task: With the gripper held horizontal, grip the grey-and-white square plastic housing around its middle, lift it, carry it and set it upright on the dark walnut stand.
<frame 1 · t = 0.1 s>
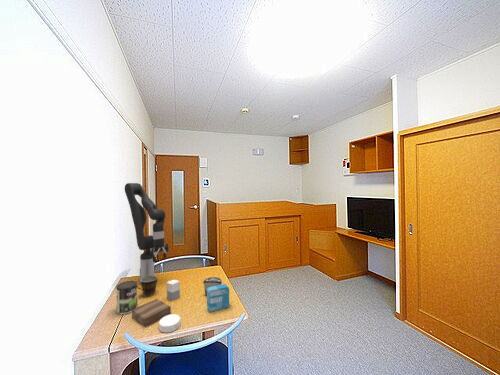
hand: (159, 260, 154), 17 cm above the table, tool pointing down, fingers open, 8 cm apart
ceramic cup: (147, 295, 139), on the table
food container: (213, 294, 140), on the table
housing: (173, 297, 135), on the table
walnut stand: (151, 315, 117), on the table
coaster: (170, 326, 108), on the table
data package: (218, 308, 123), on the table
coffee can: (127, 309, 123), on the table
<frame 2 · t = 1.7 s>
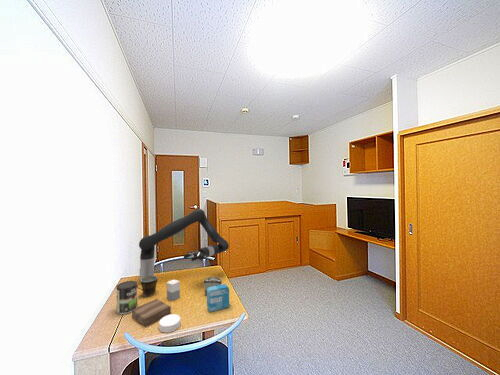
hand: (187, 258, 144), 22 cm above the table, tool horizontal, fingers open, 8 cm apart
nothing on the table moved.
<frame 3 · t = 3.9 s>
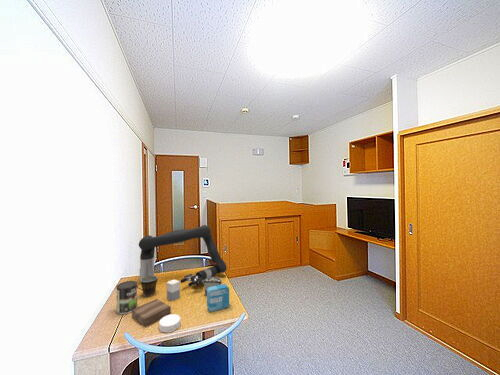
hand: (184, 283, 142), 6 cm above the table, tool horizontal, fingers open, 8 cm apart
nothing on the table moved.
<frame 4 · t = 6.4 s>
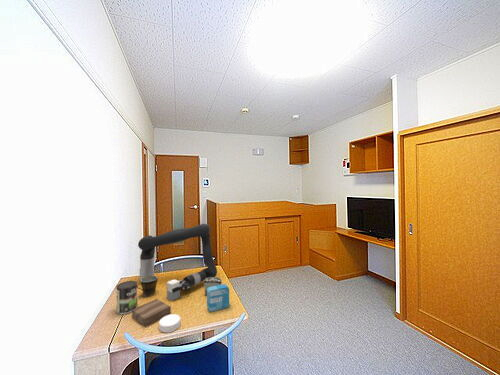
hand: (169, 289, 133), 6 cm above the table, tool horizontal, fingers closed on housing, 5 cm apart
housing: (173, 297, 135), on the table, touching gripper
everything else where it was.
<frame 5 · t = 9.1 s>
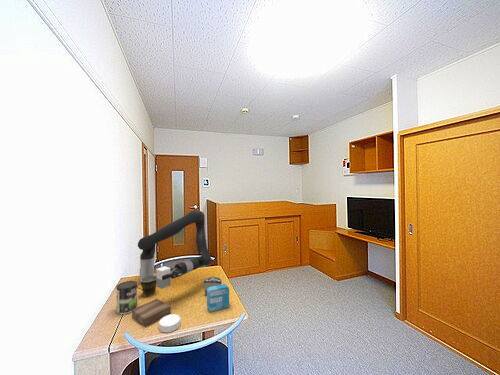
hand: (159, 276, 124), 18 cm above the table, tool horizontal, fingers closed on housing, 5 cm apart
housing: (163, 285, 126), point 12 cm above the table, touching gripper
everything else where it was.
when the fingers open (11 cm above the table, at t = 11.9 s): housing drops 1 cm, resting on walnut stand.
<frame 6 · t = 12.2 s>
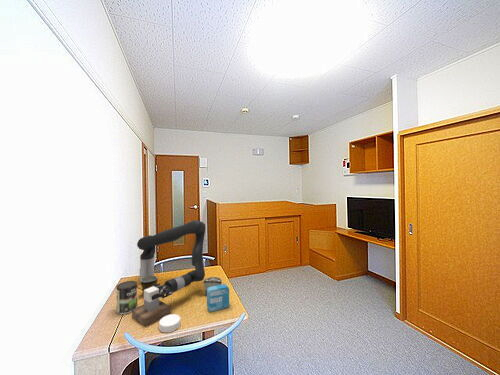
hand: (147, 295, 115), 11 cm above the table, tool horizontal, fingers open, 8 cm apart
housing: (151, 307, 117), point 4 cm above the table, touching walnut stand
everything else where it was.
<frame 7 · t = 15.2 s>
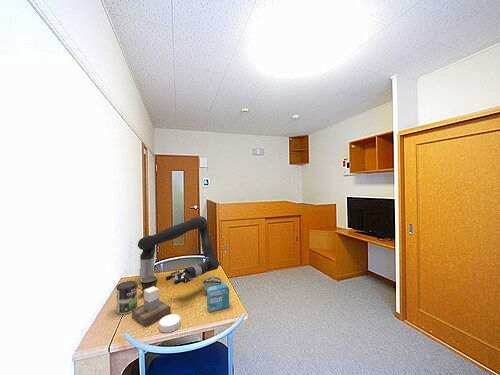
hand: (170, 280, 126), 15 cm above the table, tool horizontal, fingers open, 8 cm apart
nothing on the table moved.
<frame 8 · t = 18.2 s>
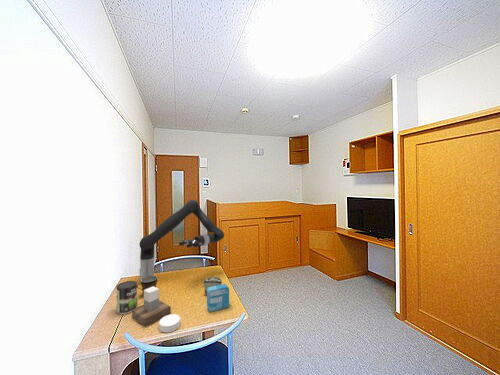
hand: (183, 245, 146), 30 cm above the table, tool horizontal, fingers open, 8 cm apart
nothing on the table moved.
at the end: housing inside the target area on the walnut stand (0.1 cm from its centre), point 4.0 cm above the walnut stand's base; housing tilted 0°; the gripper is holding nothing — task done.
